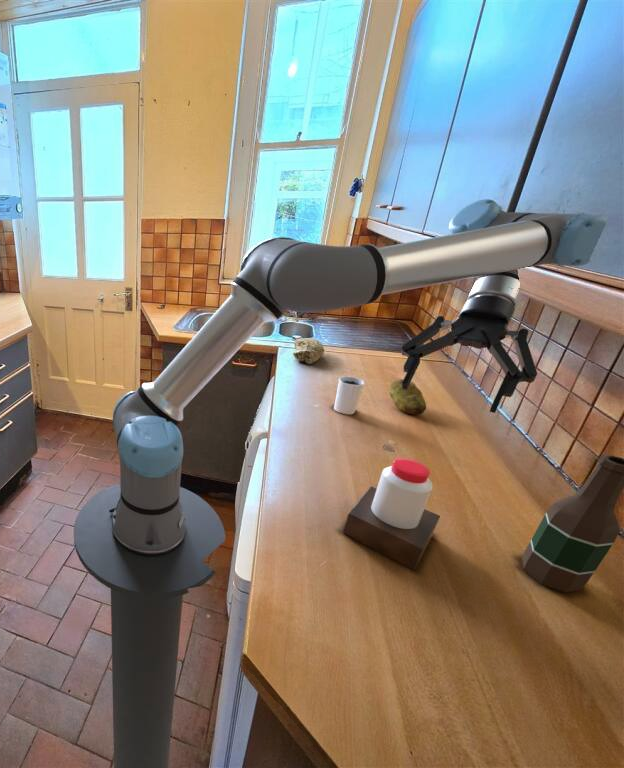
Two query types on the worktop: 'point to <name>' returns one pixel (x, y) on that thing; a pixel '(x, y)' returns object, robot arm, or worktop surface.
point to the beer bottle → (577, 531)
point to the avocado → (407, 398)
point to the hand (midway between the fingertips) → (446, 397)
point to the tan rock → (308, 350)
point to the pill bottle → (402, 493)
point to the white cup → (348, 394)
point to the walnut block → (389, 532)
